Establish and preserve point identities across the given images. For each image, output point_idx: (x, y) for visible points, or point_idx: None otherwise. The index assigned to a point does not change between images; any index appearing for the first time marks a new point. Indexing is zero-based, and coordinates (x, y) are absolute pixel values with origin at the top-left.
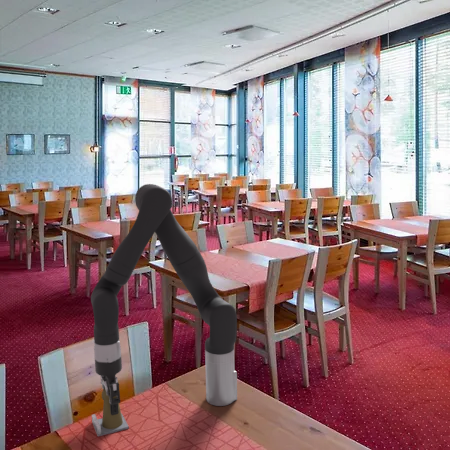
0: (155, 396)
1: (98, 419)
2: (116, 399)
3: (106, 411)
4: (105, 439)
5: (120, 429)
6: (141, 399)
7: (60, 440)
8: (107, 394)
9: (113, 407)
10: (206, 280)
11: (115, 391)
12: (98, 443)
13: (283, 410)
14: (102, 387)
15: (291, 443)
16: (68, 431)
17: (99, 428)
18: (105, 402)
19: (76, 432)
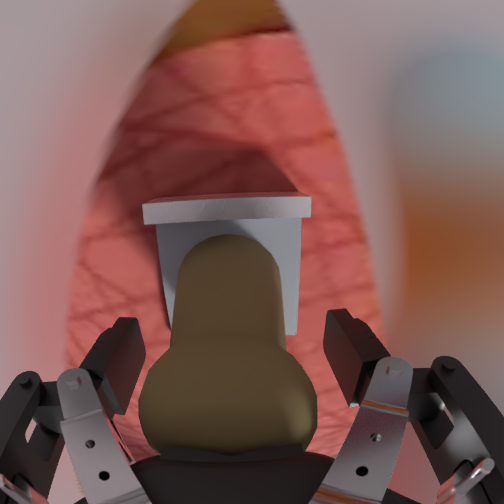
0: (346, 422)
1: (298, 226)
2: (37, 424)
3: (186, 298)
4: (122, 229)
5: (168, 305)
6: None
7: (205, 34)
8: (61, 422)
9: (88, 364)
10: None
11: (15, 474)
12: (104, 195)
13: None
14: (390, 367)
15: None
16: (269, 70)
17: (144, 216)
18: (193, 334)
19: (241, 102)
